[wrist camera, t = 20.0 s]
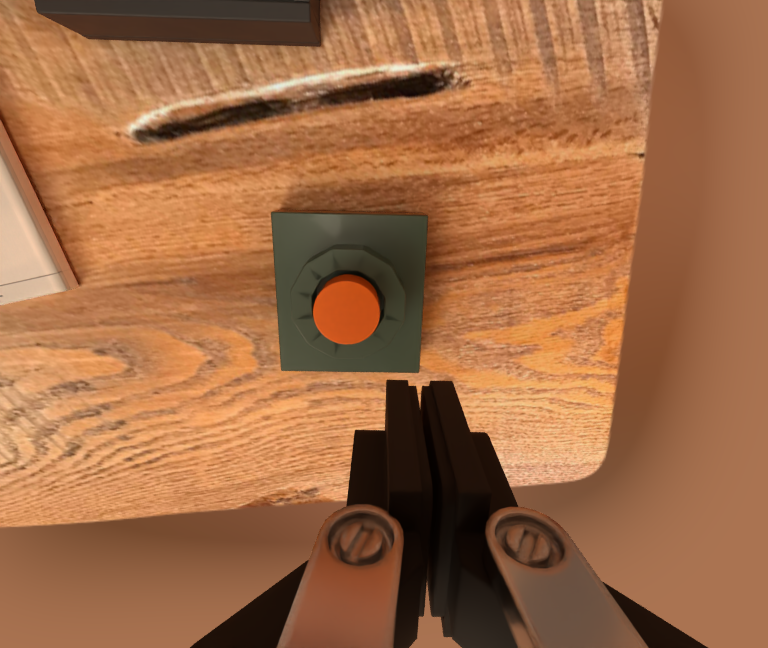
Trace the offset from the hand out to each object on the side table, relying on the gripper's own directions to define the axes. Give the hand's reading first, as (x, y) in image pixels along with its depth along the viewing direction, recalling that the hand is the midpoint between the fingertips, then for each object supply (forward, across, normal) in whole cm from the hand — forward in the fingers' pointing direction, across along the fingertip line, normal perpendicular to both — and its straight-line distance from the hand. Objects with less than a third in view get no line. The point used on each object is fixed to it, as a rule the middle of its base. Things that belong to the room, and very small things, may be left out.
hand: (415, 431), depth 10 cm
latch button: (+14, +3, +1) cm, 14 cm away
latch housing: (+17, +3, +1) cm, 17 cm away
